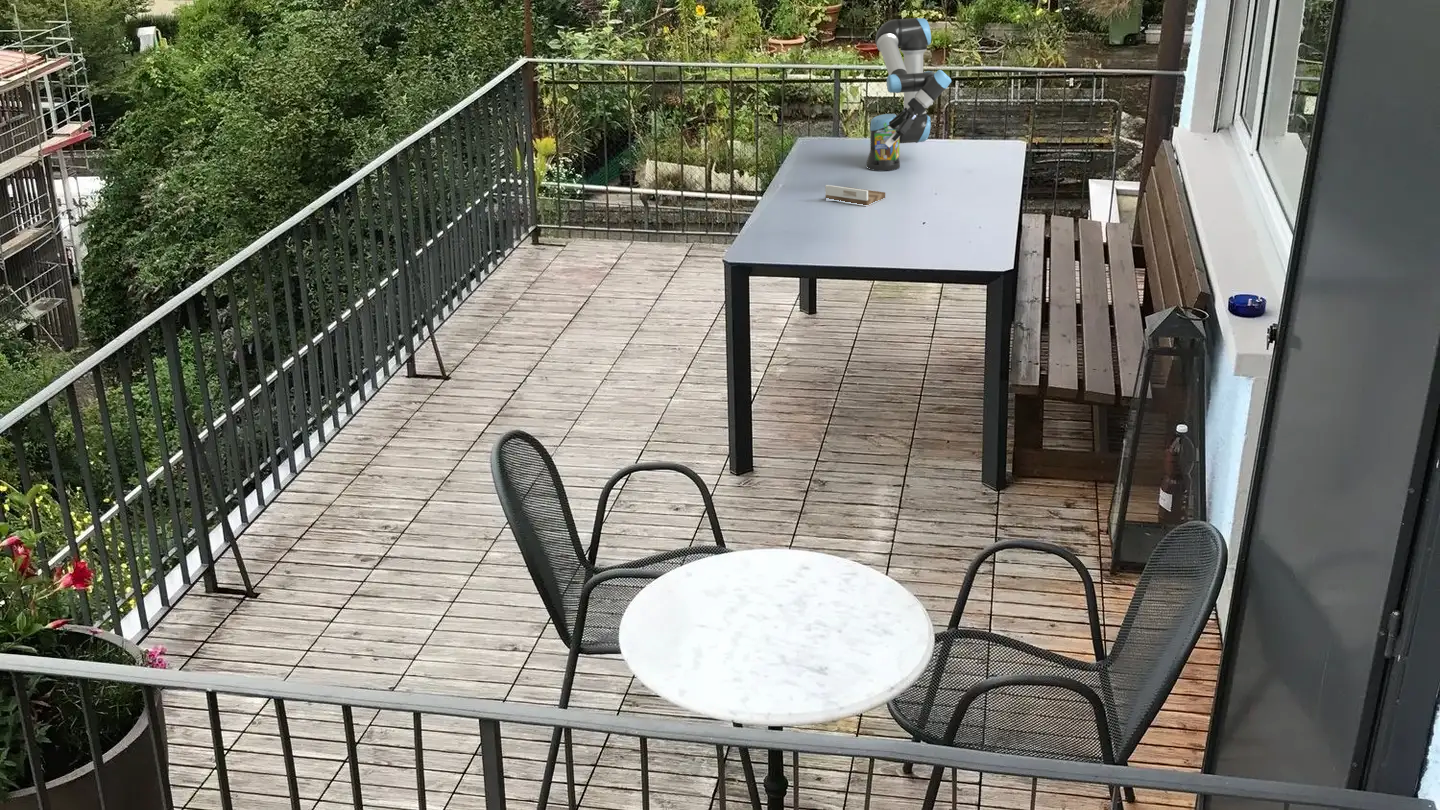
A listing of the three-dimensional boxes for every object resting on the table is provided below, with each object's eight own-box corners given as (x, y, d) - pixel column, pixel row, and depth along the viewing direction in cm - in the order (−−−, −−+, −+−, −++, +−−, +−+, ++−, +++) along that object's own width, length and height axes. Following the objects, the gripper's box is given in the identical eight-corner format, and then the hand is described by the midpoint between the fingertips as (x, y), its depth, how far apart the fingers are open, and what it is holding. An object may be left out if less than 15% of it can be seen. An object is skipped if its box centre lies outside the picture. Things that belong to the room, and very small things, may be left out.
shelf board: (844, 192, 577) (844, 177, 574) (885, 198, 566) (885, 183, 563) (825, 200, 566) (825, 185, 563) (866, 206, 554) (866, 191, 552)
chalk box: (895, 161, 563) (895, 125, 557) (874, 160, 566) (873, 125, 560) (900, 156, 571) (900, 121, 565) (878, 155, 574) (878, 120, 568)
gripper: (933, 114, 551) (896, 154, 556) (919, 103, 573) (883, 142, 578) (921, 102, 549) (883, 142, 554) (907, 91, 571) (871, 130, 576)
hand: (883, 142), depth 566 cm, fingers closed on chalk box, 11 cm apart
